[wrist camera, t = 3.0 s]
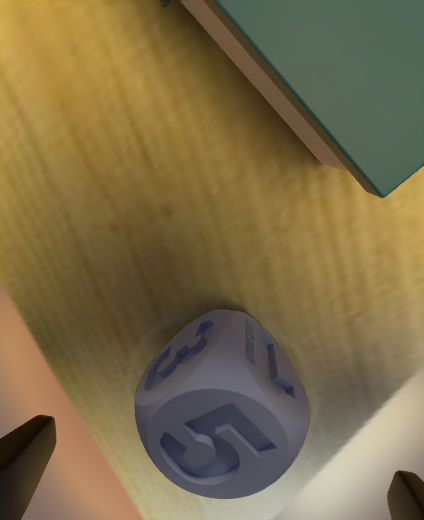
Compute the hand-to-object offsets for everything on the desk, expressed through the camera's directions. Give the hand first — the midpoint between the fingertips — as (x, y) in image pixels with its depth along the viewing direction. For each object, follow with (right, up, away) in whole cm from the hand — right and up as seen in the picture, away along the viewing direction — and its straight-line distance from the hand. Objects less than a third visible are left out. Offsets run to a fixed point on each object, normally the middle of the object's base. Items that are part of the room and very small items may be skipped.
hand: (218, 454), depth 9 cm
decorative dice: (0, +1, +4) cm, 4 cm away
